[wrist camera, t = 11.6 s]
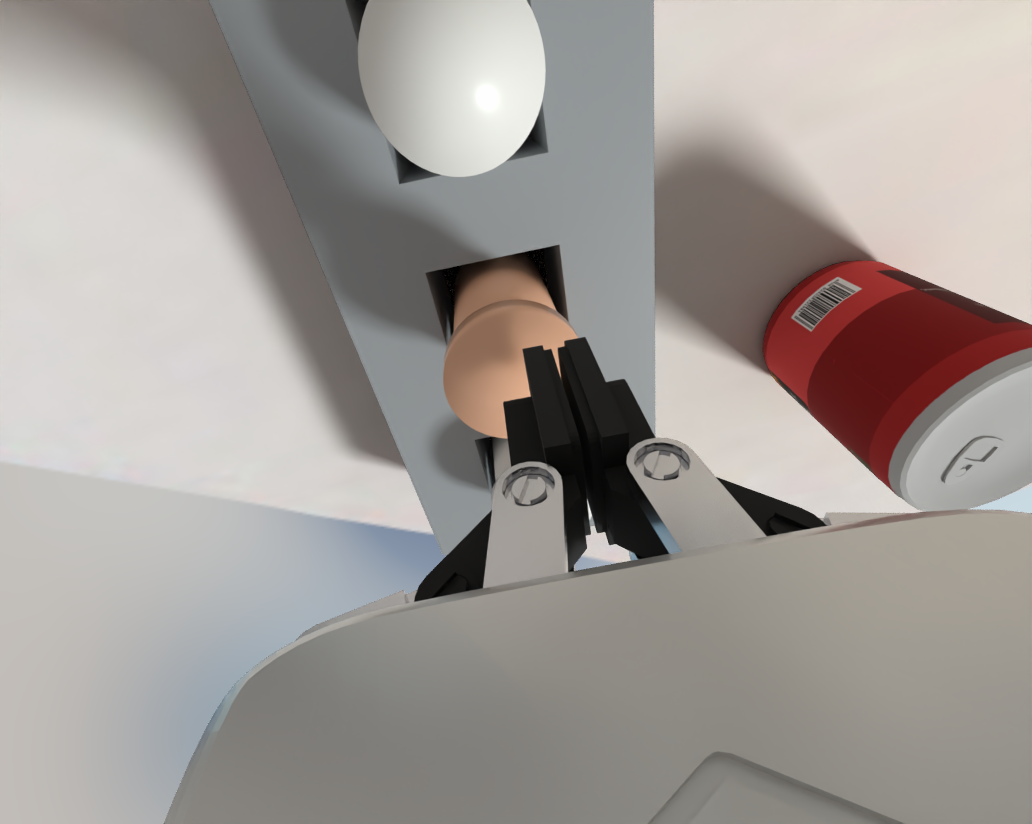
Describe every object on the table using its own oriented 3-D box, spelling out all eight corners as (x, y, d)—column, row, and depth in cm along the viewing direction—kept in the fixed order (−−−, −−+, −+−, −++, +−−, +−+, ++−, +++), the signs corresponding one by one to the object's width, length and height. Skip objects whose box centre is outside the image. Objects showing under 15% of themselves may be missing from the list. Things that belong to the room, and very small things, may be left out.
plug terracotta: (435, 250, 20) (424, 330, 14) (541, 227, 20) (581, 297, 14) (461, 344, 23) (462, 450, 16) (555, 325, 23) (593, 423, 16)
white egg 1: (377, 14, 17) (326, -29, 10) (502, -14, 17) (530, -75, 10) (415, 156, 20) (393, 192, 13) (523, 133, 20) (556, 158, 13)
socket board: (247, -62, 16) (156, -124, 11) (592, -139, 16) (652, -238, 11) (445, 481, 31) (443, 555, 26) (624, 445, 31) (655, 513, 26)
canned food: (742, 387, 29) (868, 522, 20) (782, 257, 25) (968, 357, 16) (858, 380, 30) (1030, 508, 21) (919, 252, 25) (1173, 345, 16)
